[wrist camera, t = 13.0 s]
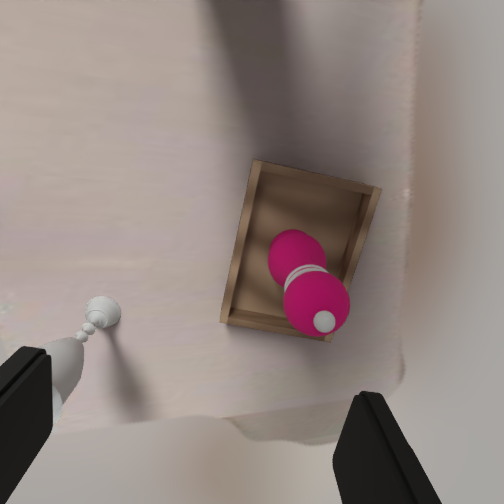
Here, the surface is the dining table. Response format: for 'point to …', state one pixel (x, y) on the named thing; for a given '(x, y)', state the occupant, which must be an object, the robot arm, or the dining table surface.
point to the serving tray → (284, 218)
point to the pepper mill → (307, 284)
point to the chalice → (77, 350)
